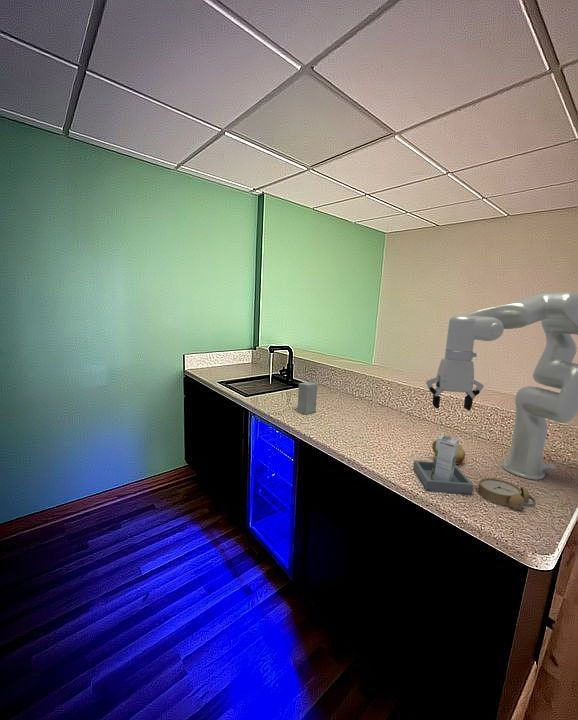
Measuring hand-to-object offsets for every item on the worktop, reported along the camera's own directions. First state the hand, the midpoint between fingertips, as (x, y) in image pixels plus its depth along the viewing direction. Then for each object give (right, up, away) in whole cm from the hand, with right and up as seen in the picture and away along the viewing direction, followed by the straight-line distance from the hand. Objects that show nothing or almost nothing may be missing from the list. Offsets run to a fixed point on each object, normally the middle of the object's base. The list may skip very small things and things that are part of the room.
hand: (451, 408), depth 104 cm
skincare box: (-43, -13, +69) cm, 82 cm away
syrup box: (-1, -25, +4) cm, 25 cm away
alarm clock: (+14, -28, -4) cm, 32 cm away
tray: (-2, -25, +4) cm, 26 cm away
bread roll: (+9, -24, +20) cm, 32 cm away
